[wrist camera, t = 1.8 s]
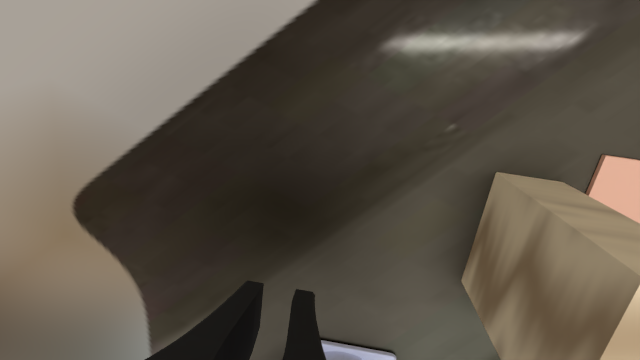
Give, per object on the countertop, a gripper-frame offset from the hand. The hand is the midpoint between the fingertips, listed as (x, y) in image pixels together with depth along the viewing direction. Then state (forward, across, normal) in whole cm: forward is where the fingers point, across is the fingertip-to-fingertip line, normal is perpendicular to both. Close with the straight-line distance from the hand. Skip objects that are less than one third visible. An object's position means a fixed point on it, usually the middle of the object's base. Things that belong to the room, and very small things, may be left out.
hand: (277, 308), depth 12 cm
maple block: (+10, -13, 0) cm, 17 cm away
